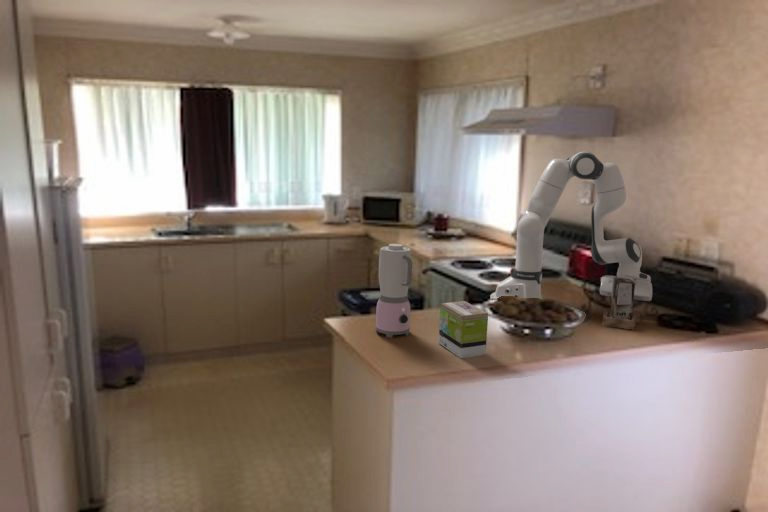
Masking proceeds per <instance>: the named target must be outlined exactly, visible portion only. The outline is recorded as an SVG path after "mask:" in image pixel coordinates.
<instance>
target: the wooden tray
mask: <svg viewBox="0 0 768 512" xmlns="http://www.w3.org/2000/svg"><path fill="white" fill-rule="evenodd" d="M632 314H633V313H632ZM640 318H641V314H640V313H634V314H633V315H632V316H631V320H625V319H619V318H612V317H610V309H608V308H603V311H602V321H601V326H602V325H604V326H603V327H607V326H611V327H610V328H614V327H618V328H617V329H620V328H625V329H624V330H626V329H632V330H631V331H633V330H634V331H635V328H634V327H636V324H637V323H636V322H639V323H640Z"/></svg>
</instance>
